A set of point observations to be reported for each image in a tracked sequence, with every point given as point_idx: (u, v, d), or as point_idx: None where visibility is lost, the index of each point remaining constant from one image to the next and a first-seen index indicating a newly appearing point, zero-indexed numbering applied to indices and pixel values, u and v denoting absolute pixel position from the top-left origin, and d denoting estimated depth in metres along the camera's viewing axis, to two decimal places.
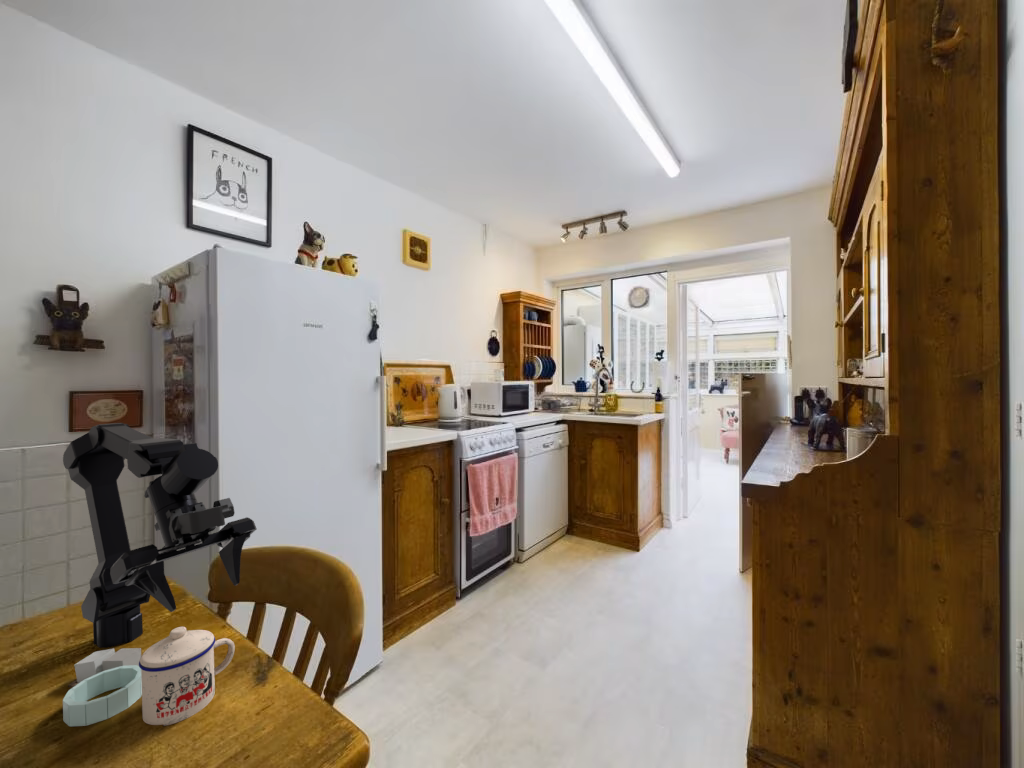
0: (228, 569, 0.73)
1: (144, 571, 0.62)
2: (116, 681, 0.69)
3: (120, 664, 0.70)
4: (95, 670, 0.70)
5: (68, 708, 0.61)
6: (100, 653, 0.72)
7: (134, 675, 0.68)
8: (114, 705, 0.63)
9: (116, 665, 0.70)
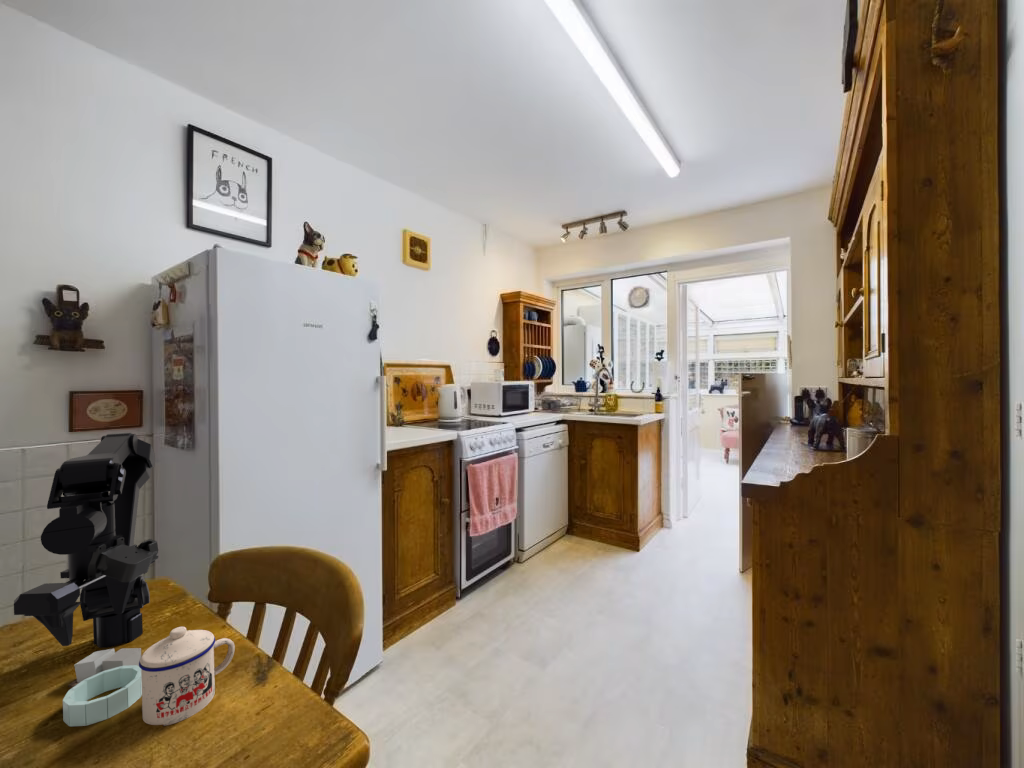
0: (113, 596, 0.76)
1: None
2: (116, 681, 0.69)
3: (120, 664, 0.70)
4: (95, 670, 0.70)
5: (68, 708, 0.61)
6: (100, 653, 0.72)
7: (134, 675, 0.68)
8: (114, 705, 0.63)
9: (116, 665, 0.70)
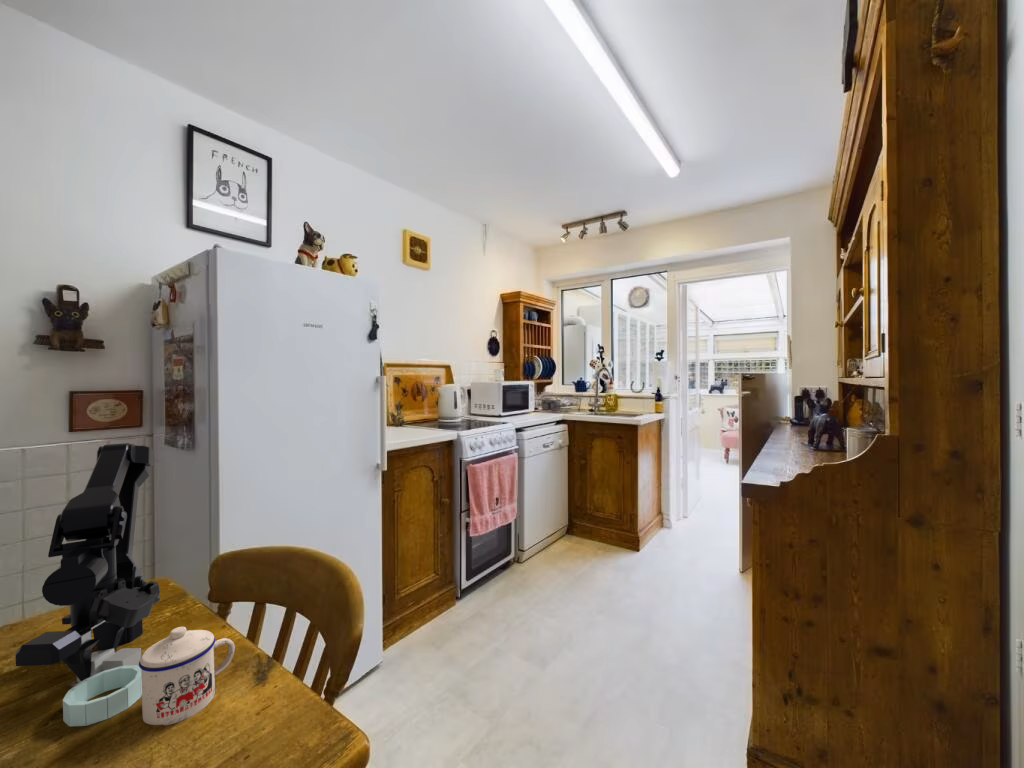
0: (101, 647, 0.73)
1: None
2: (116, 681, 0.69)
3: (120, 664, 0.70)
4: (95, 670, 0.70)
5: (68, 708, 0.61)
6: (100, 653, 0.72)
7: (134, 675, 0.68)
8: (114, 705, 0.63)
9: (116, 665, 0.70)
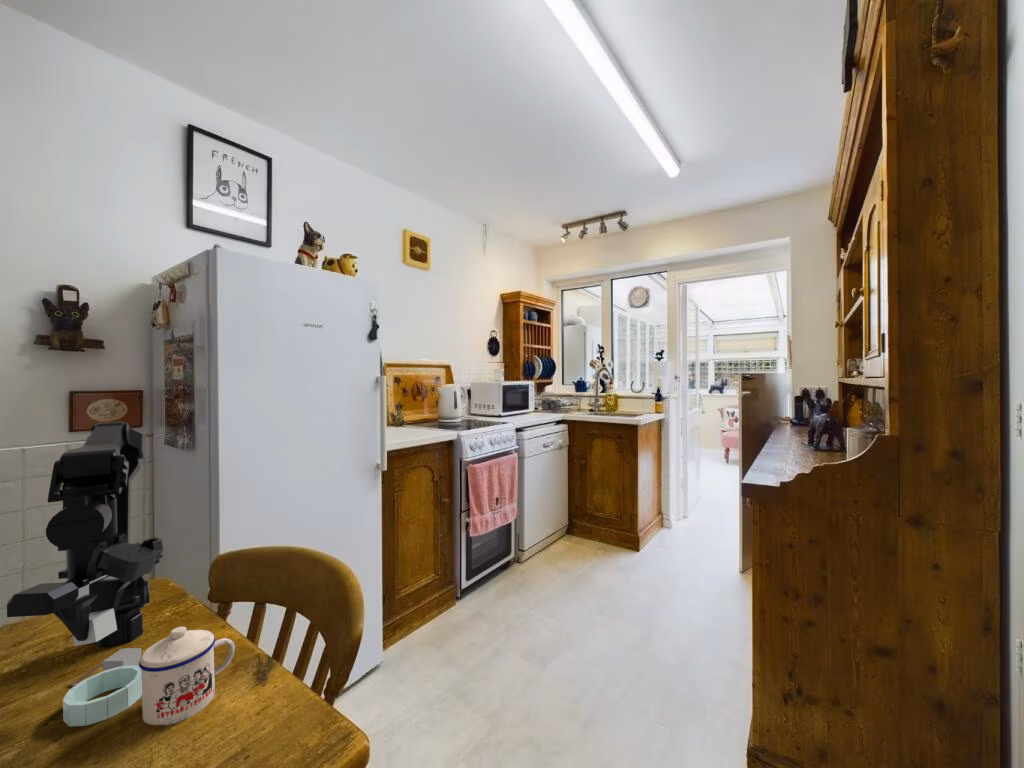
0: (100, 607, 0.68)
1: None
2: (116, 681, 0.69)
3: (121, 664, 0.70)
4: (93, 630, 0.65)
5: (68, 708, 0.61)
6: (98, 612, 0.67)
7: (134, 675, 0.68)
8: (114, 705, 0.63)
9: (116, 665, 0.70)
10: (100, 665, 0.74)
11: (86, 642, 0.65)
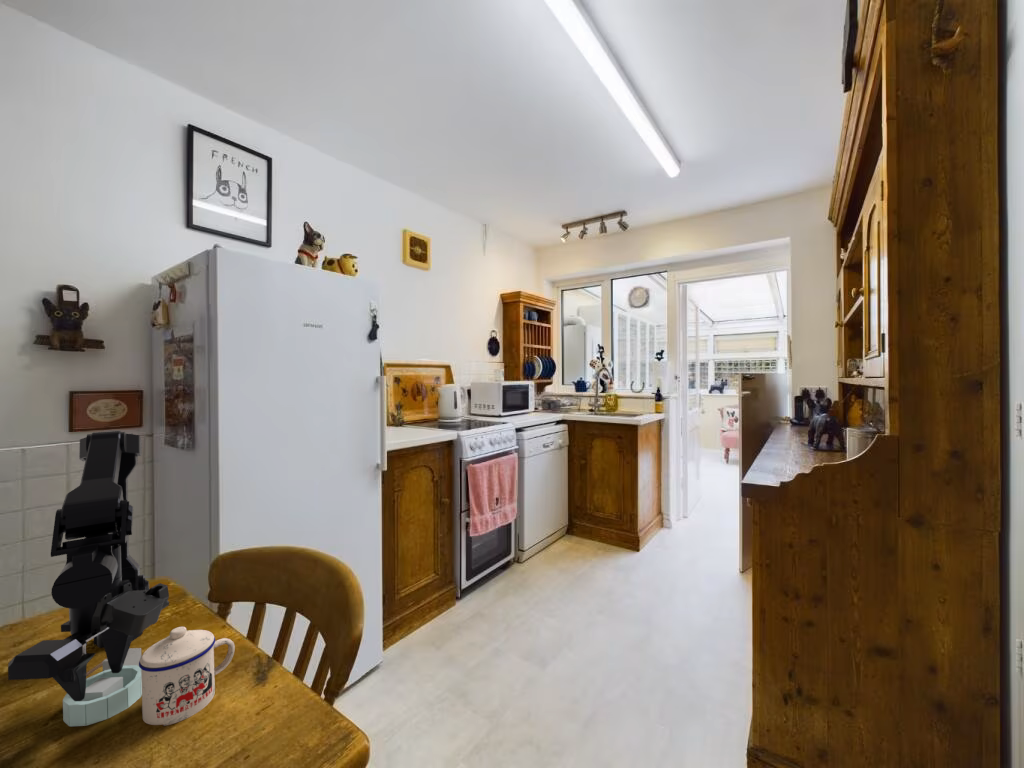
0: (110, 653, 0.67)
1: None
2: None
3: None
4: None
5: (68, 708, 0.61)
6: (107, 681, 0.65)
7: (134, 675, 0.68)
8: (114, 705, 0.63)
9: None
10: (100, 665, 0.74)
11: None
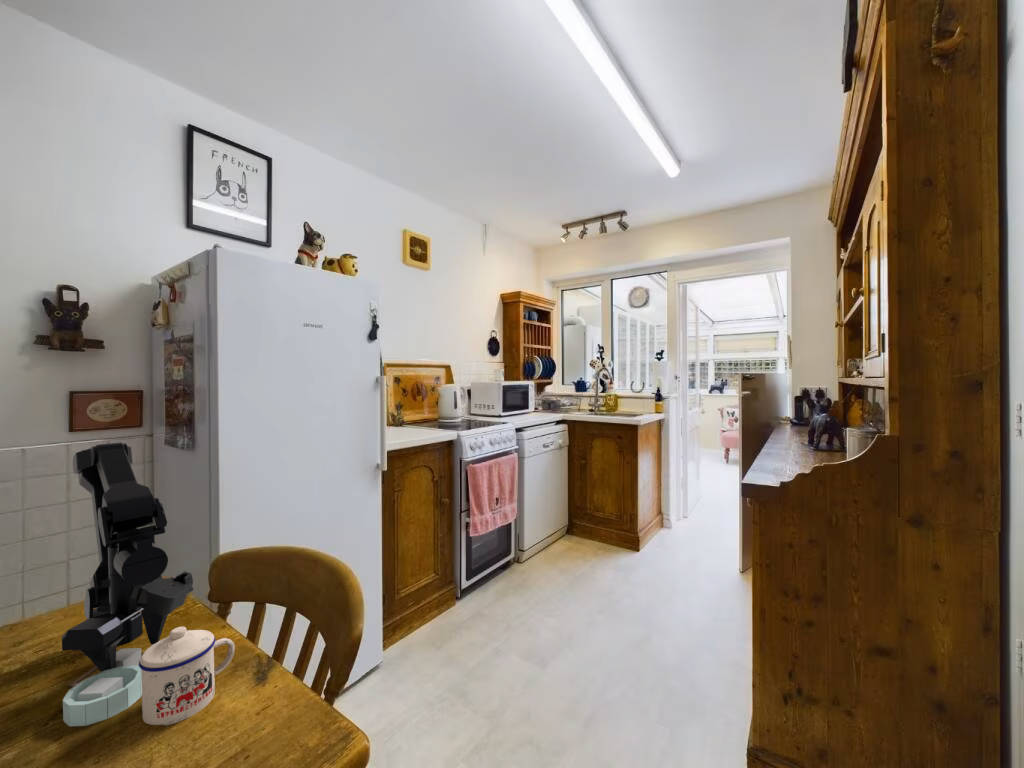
0: (149, 627, 0.79)
1: None
2: None
3: (121, 664, 0.70)
4: None
5: (68, 708, 0.61)
6: (107, 681, 0.65)
7: (134, 675, 0.68)
8: (114, 705, 0.63)
9: (116, 665, 0.70)
10: None
11: None
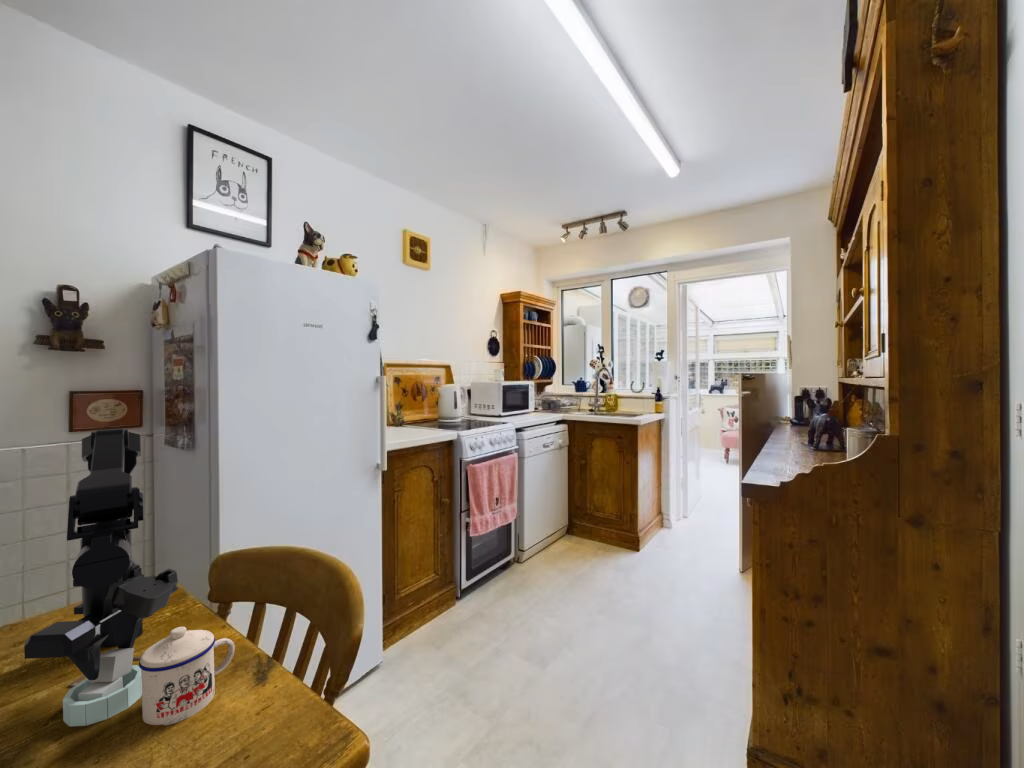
0: (119, 637, 0.69)
1: None
2: None
3: (112, 660, 0.65)
4: None
5: (68, 708, 0.61)
6: None
7: (134, 675, 0.68)
8: (114, 705, 0.63)
9: (107, 662, 0.65)
10: None
11: None
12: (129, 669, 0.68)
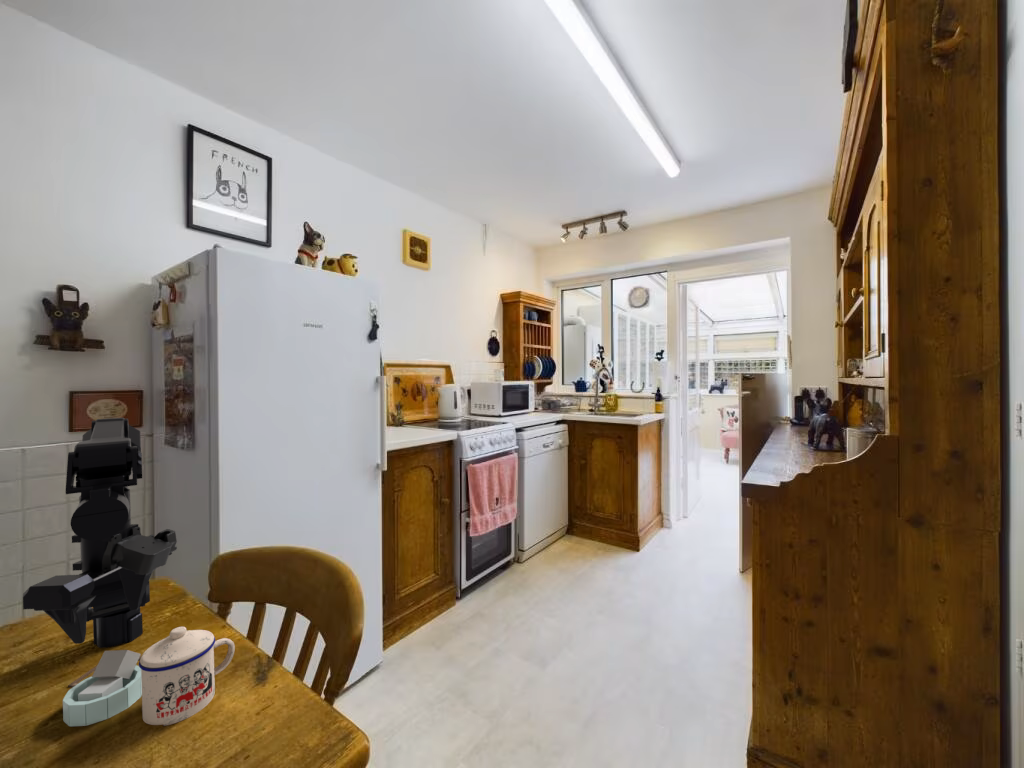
0: (128, 591, 0.71)
1: None
2: None
3: (122, 654, 0.67)
4: None
5: (68, 708, 0.61)
6: (106, 681, 0.65)
7: (134, 675, 0.68)
8: (114, 705, 0.63)
9: (117, 655, 0.67)
10: None
11: None
12: (129, 675, 0.68)
